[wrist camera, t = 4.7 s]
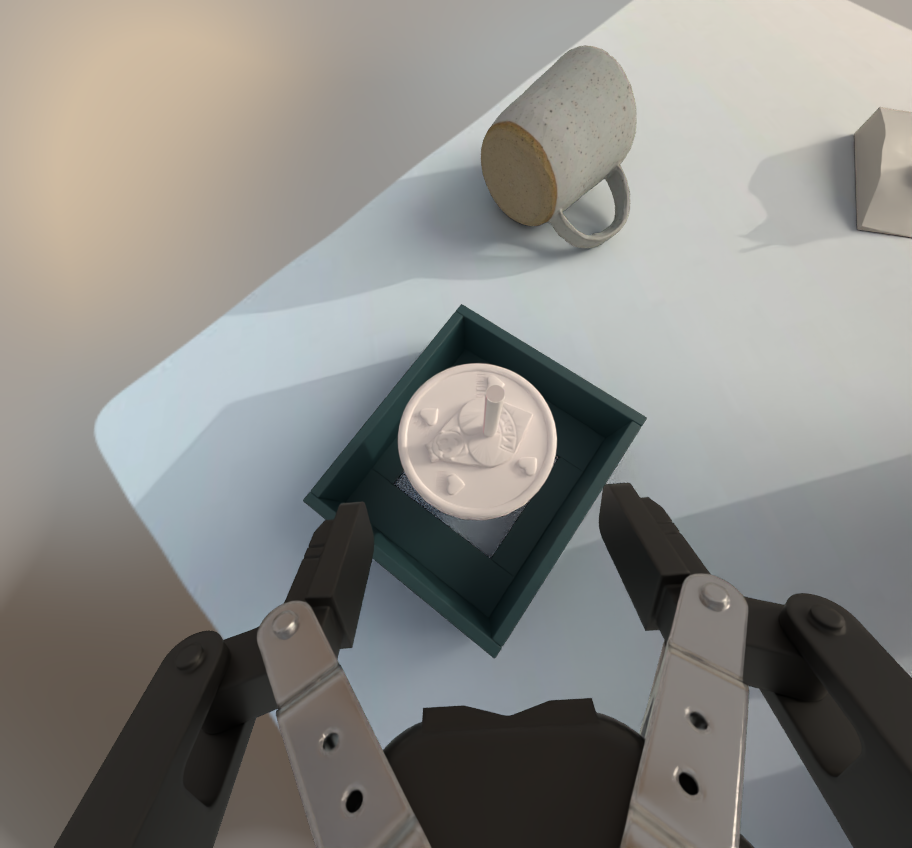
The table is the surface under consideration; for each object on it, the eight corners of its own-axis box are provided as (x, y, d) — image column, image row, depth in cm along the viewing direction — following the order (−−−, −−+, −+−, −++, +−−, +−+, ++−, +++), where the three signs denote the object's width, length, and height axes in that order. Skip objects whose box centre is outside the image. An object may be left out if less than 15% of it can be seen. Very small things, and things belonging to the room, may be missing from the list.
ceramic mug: (472, 199, 30) (472, 91, 22) (541, 139, 31) (564, 18, 23) (574, 279, 28) (613, 189, 20) (645, 212, 29) (706, 104, 21)
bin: (463, 339, 27) (461, 303, 22) (616, 437, 24) (647, 417, 20) (333, 505, 24) (302, 500, 20) (490, 632, 22) (494, 659, 17)
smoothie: (542, 501, 23) (634, 466, 10) (445, 537, 23) (404, 554, 10) (503, 409, 25) (536, 272, 12) (413, 442, 25) (338, 341, 11)
